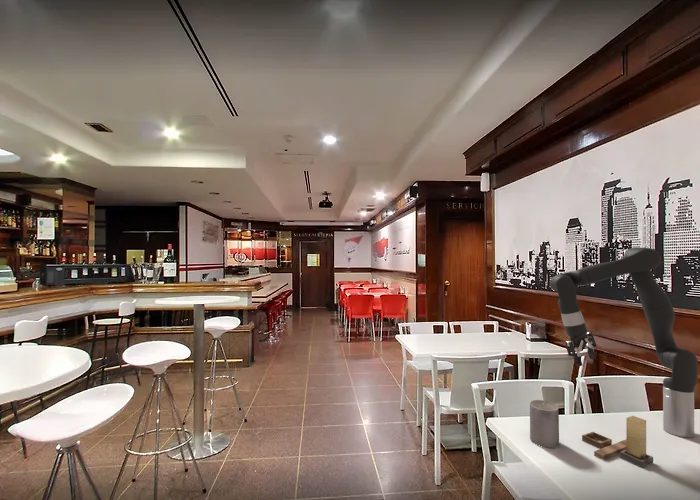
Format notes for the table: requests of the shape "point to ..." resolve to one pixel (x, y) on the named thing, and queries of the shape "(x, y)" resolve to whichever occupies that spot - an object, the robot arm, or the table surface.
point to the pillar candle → (544, 423)
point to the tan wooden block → (636, 437)
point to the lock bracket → (613, 449)
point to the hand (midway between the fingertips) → (586, 362)
